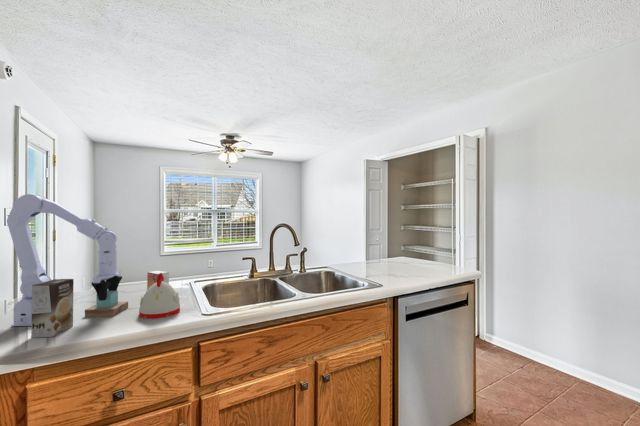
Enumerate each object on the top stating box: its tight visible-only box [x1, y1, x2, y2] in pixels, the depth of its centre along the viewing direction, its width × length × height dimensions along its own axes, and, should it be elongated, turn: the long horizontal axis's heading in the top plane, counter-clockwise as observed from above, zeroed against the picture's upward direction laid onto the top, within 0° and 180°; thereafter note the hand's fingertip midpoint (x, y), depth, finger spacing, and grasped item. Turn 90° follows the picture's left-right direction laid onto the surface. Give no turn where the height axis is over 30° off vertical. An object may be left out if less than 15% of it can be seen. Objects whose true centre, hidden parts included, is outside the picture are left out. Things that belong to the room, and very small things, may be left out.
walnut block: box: [84, 301, 129, 318], centre depth 119 cm, size 10×10×3 cm
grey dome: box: [138, 273, 181, 320], centre depth 119 cm, size 14×14×15 cm
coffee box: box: [30, 278, 74, 338], centre depth 99 cm, size 9×6×16 cm
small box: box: [146, 270, 170, 291], centre depth 143 cm, size 8×6×10 cm
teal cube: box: [95, 290, 119, 308], centre depth 119 cm, size 5×5×5 cm
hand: (107, 297), depth 119 cm, fingers open, 6 cm apart
